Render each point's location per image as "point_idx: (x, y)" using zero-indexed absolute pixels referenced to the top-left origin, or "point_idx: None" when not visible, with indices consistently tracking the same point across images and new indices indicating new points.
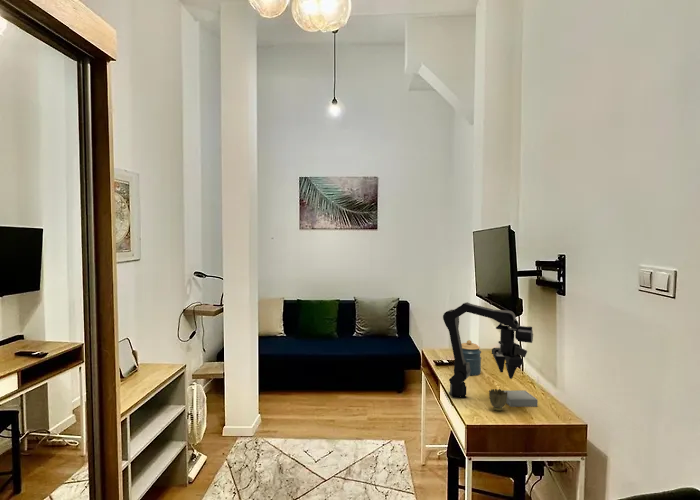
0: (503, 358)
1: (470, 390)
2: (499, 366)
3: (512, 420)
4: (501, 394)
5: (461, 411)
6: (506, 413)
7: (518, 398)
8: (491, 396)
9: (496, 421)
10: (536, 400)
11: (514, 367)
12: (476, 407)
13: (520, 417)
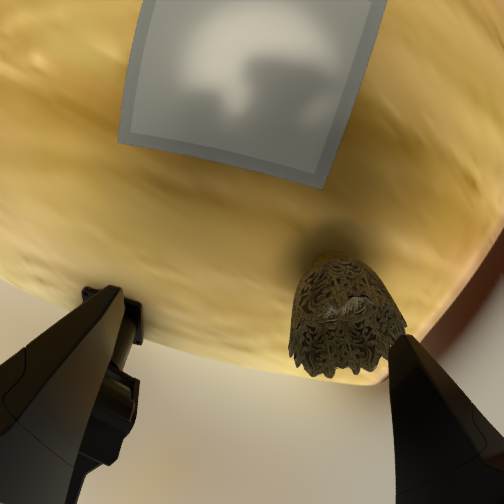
0: (6, 469)
1: (43, 231)
2: (95, 387)
3: (440, 277)
4: (327, 290)
5: (281, 373)
6: (381, 254)
7: (326, 116)
8: (339, 358)
9: (409, 327)
10: (383, 4)
11: (486, 461)
12: (262, 324)
13: (443, 227)
